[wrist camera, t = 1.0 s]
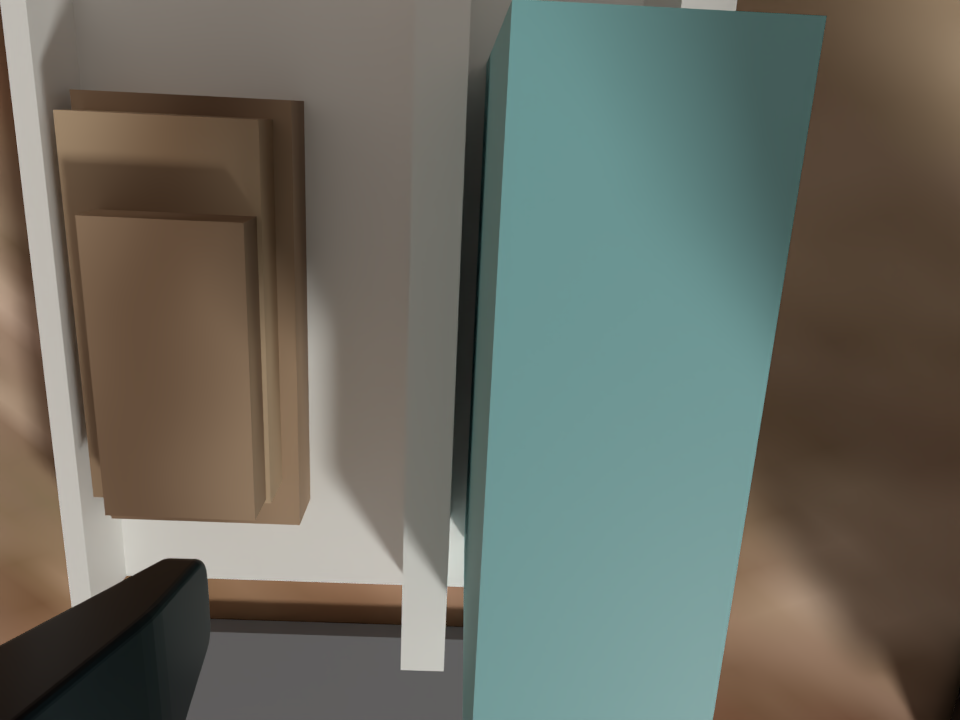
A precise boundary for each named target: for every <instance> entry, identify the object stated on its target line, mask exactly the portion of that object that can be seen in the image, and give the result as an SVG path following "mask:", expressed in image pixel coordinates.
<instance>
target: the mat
mask: <svg viewBox="0 0 960 720" xmlns="http://www.w3.org/2000/svg"><path fill="white" fill-rule="evenodd" d="M210 622H211V630H210V640H209V645H208V649H207V652H206V656H205V659H204V662H203V665H202V669H201V672H200V675H199V678H198V682H197V685H196V688H195V691H194V695H193V698H192V701H191V704H190V708H189V711H188V714H187V717H186V720H463V627H447V626H446V629H445V652H444V671H416V670H401V628H402V625H384V624H353V623H322V622H291V621H260V620H229V619H210Z"/></svg>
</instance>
